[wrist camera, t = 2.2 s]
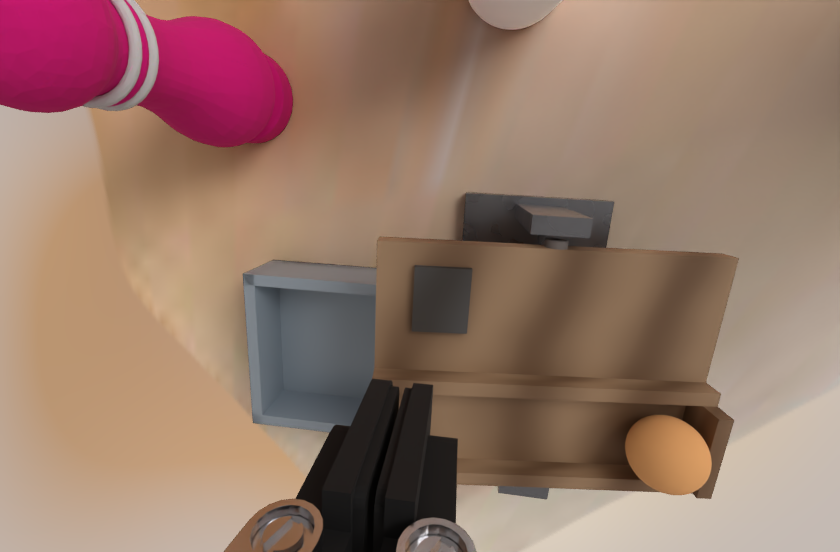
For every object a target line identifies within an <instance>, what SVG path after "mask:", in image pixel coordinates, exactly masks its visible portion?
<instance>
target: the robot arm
mask: <svg viewBox="0 0 840 552" xmlns="http://www.w3.org/2000/svg"><path fill="white" fill-rule="evenodd" d="M432 399H433V385H430V384H420V383H413V386H412V388H406V387H405V389H404V393H403V396H402V400H401V404H400V407H399V387H397V386H393V382H392V381H391V380H381V379H372V380H371V382H370V384H369V386H368V388H367V391H366V393H365V395H364V397H363V399H362V402H361V404H360V406H359V408H358V410H357V413H356V415H355V417H354V419H353V422H352V424H351V426H345V425H334V426H333V428H332V429H331V431H330V433H329V435H328V437H327V439H326V441H325V443H324V445H323V447H322V449H321V451H320V453H319V454H318V456H317V458H316V460H315V462H314V464H313V466H312V468H311V470H310V472H309V474H308V476H307V478H306V479H305V482H304V483H303V486H302V487H301V489H300V491H299V493H298V495H297V497H296V499H288V500H287V499H286V500H280V501H277V502H275V503H272V504H269V505H268V506H266V507H264V508H263V509H261V510H259V511H258V512H257V513H256V514H255V515H254V516H253V517H252V518H251V519H250V520H249V521H248V522H247V523H246V525H245V526H244V527H243V528H242V530H241V531H240V532H239V533H238V535H237V536H236V537H235V538H234V539H233V541H232V542H231V543H230V544H229V546H228V547H227V548H226V550H225V551H224V552H476V549H475V546H474V544H473V541H472V539H471V538H470V537H469V535H468V534H467V533H466V531H465V530H463V529H462V528H461V527H460V526H458V525H457V524H456V487H457V450H458V438H450V437H441V436H432V435H430V429H431V414H432Z"/></svg>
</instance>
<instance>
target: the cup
mask: <svg viewBox="0 0 840 552" xmlns="http://www.w3.org/2000/svg"><path fill="white" fill-rule="evenodd" d="M468 1H469V3H470V5H471V7H472V8H473V10H474V11H475V12H476V14H477V15H478V16H479V17H480V18H481V19H482V20H484V21H485V22H487V23H488V24H490V25H492V26H494V27H497V28H501V29H507V30H516V29H522V28H526V27H528V26H531V25H533V24H535V23H537V22H539V21H540V20H542V19H543V18H544V17H546V16H547V15H548V14H549V13H550V12H551V11H552V10H553V9H554V8H555V7H556V6H557V5H558V4H560V3H561V2H562V1H563V0H468Z"/></svg>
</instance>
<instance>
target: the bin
mask: <svg viewBox="0 0 840 552" xmlns="http://www.w3.org/2000/svg"><path fill="white" fill-rule="evenodd" d="M376 275H377V268H370V267H358V266H345V265H332V264H320V263H307V262H294V261H281V260H272V261H270V262H267V263H265V264H263V265H261V266H259V267H256V268H254V269H252V270H250V271H248V272H246V273H243V284H244V298H245V313H246V328H247V342H248V357H249V372H250V386H251V401H252V416H253V423H257V424H265V425H273V426H282V427H290V428H298V429H306V430H314V431H322V432H330V431H331V429H332V428H333V426H334V425H345V426H351V424H352V422H353V419H354V417H355V415H356V413H357V410H358V408H359V406H360V404H361V402H362V399H363V397H364V395H365V393H366V391H367V388H368V386H369V384H370V382H371V380H372V377H373V372H374V362H375V318H376Z"/></svg>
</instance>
